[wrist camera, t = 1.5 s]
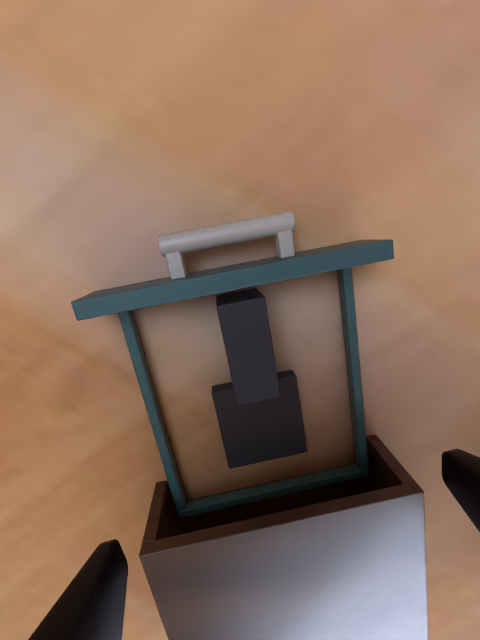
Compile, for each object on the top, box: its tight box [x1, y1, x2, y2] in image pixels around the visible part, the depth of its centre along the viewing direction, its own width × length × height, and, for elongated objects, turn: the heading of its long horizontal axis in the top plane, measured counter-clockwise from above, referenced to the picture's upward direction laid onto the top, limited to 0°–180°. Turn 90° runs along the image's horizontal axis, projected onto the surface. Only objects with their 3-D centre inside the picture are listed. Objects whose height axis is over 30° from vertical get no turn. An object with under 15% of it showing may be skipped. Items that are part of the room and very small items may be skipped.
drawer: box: [71, 211, 394, 518], centre depth 19 cm, size 19×17×3 cm
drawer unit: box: [139, 435, 428, 640], centre depth 22 cm, size 17×17×5 cm
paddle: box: [212, 288, 307, 469], centre depth 19 cm, size 6×12×3 cm, turn 10°
